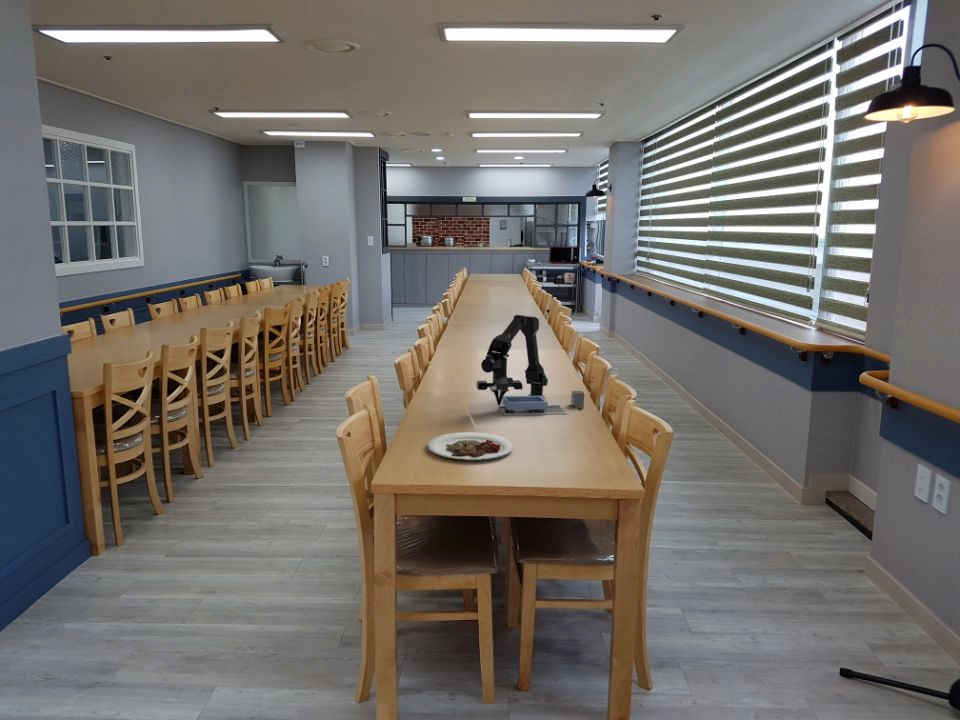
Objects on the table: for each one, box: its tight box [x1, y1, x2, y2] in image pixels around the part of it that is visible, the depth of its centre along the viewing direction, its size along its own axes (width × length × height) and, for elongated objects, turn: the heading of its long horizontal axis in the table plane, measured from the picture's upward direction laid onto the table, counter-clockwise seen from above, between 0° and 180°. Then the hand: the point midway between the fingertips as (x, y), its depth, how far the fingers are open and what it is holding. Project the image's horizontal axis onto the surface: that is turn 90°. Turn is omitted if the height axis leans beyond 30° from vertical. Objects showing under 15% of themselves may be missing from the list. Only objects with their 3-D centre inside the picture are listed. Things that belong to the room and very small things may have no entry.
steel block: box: [570, 390, 585, 410], centre depth 302 cm, size 4×4×7 cm
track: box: [498, 404, 569, 416], centre depth 292 cm, size 13×27×1 cm, turn 98°
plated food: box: [427, 431, 514, 461], centre depth 242 cm, size 30×30×3 cm
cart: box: [502, 395, 548, 413], centre depth 291 cm, size 11×17×5 cm, turn 98°
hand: (498, 405), depth 290 cm, fingers closed
